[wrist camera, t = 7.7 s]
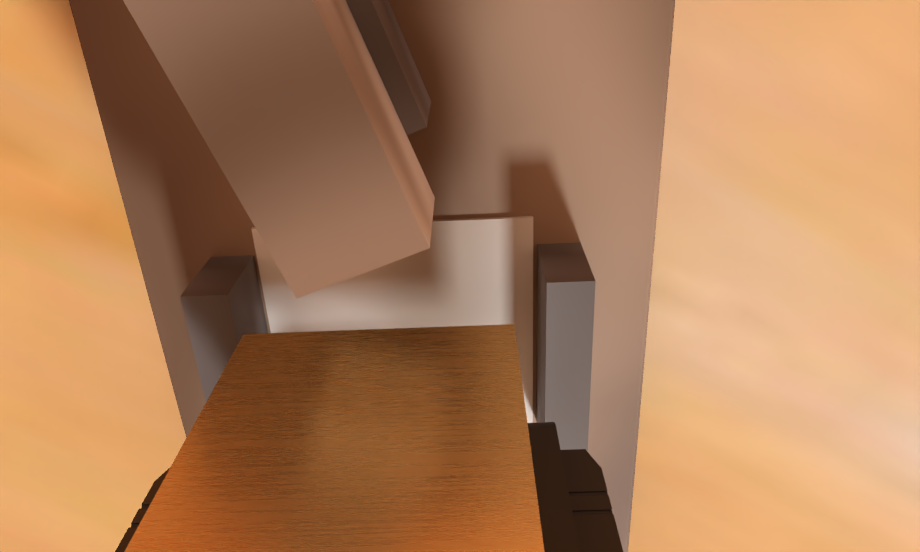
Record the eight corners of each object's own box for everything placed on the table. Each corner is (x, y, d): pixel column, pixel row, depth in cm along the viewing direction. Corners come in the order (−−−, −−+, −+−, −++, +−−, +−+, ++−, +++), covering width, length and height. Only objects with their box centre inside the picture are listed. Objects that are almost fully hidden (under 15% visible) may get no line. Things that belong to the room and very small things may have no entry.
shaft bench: (254, 622, 24) (196, 817, 18) (50, -191, 13) (-210, -271, 8) (612, 612, 23) (656, 807, 18) (676, -223, 13) (816, -327, 8)
